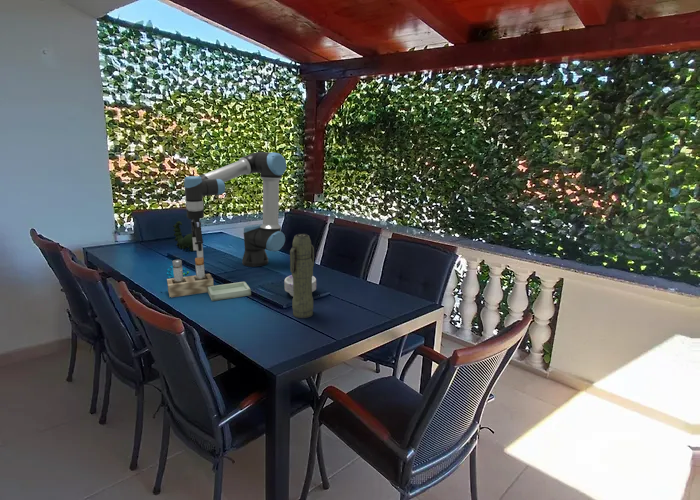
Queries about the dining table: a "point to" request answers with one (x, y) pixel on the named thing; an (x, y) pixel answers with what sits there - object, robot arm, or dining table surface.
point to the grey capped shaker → (178, 271)
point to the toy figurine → (183, 242)
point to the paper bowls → (289, 284)
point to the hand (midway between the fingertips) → (198, 253)
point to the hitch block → (189, 286)
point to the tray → (228, 291)
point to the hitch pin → (200, 268)
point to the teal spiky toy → (173, 272)
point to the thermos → (302, 275)
